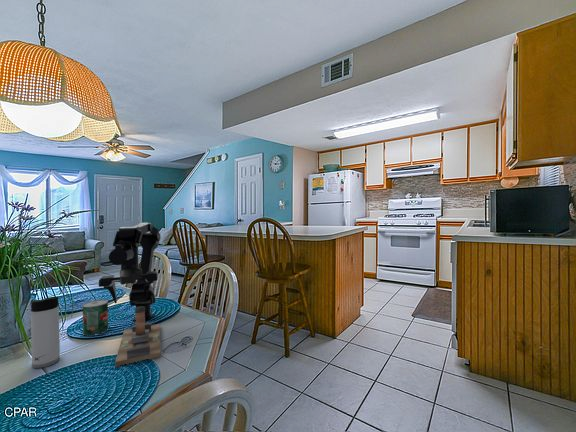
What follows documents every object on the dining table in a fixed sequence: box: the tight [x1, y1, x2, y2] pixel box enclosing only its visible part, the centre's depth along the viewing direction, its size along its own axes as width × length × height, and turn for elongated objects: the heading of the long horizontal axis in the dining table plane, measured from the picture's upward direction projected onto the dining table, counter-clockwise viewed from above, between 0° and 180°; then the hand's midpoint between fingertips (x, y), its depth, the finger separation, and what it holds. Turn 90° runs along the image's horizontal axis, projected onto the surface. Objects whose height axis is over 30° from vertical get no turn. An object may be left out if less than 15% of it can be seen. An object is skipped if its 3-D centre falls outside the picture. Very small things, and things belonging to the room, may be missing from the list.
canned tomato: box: [82, 299, 109, 336], centre depth 101 cm, size 8×8×11 cm
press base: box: [114, 322, 161, 368], centre depth 91 cm, size 24×12×4 cm, turn 26°
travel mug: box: [30, 296, 61, 369], centre depth 80 cm, size 6×7×20 cm
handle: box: [131, 306, 149, 344], centre depth 90 cm, size 5×5×11 cm
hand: (130, 301), depth 100 cm, fingers open, 9 cm apart
